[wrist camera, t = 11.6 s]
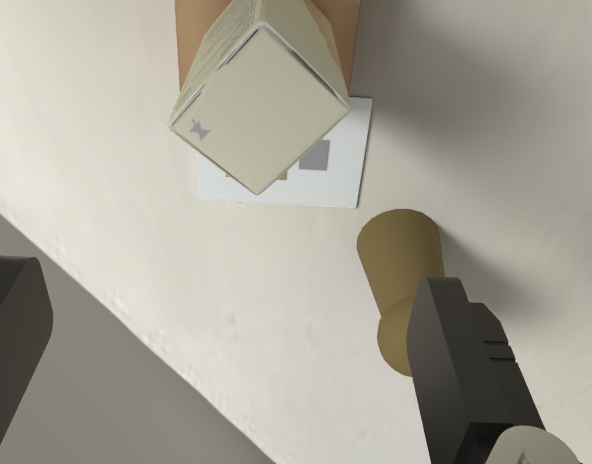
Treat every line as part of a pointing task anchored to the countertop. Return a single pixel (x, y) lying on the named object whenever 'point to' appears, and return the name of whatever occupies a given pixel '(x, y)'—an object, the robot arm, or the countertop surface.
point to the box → (262, 90)
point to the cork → (398, 273)
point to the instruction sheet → (304, 169)
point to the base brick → (211, 3)
